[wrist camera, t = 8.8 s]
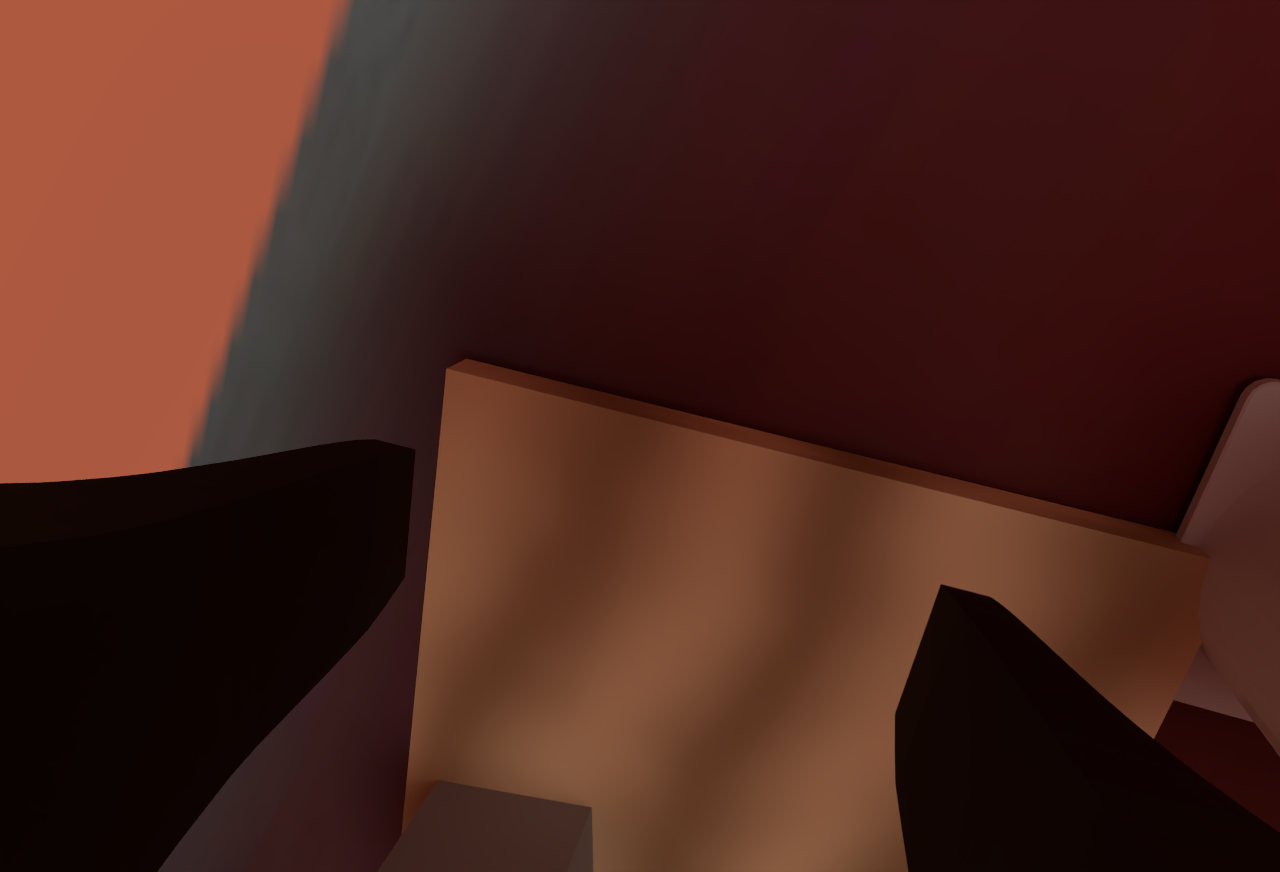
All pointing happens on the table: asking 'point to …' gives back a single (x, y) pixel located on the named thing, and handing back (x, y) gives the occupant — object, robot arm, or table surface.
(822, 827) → the shelf board
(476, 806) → the slate carton
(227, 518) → the robot arm
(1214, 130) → the table surface
